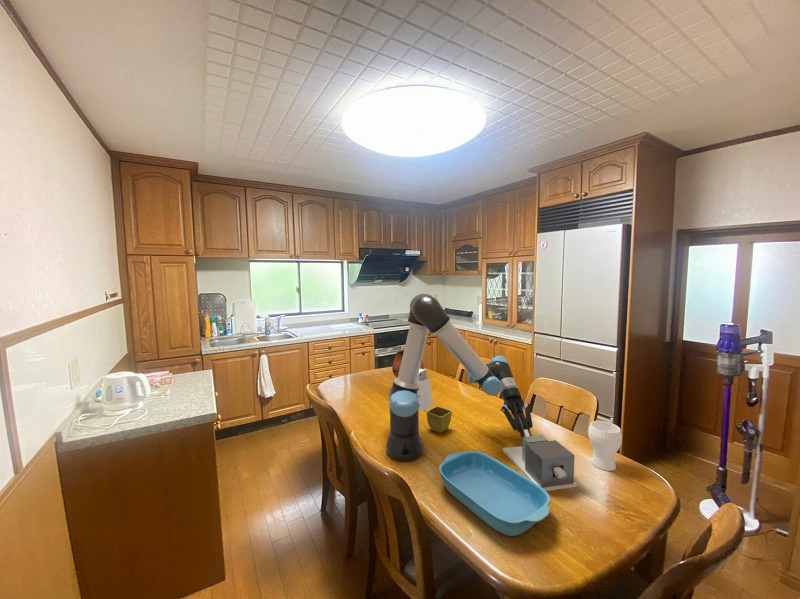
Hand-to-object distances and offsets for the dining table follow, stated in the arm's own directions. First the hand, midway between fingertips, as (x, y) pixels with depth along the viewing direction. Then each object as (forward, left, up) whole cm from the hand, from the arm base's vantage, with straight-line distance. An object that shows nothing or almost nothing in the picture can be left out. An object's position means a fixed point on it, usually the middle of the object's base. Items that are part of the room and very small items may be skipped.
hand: (530, 447), depth 125 cm
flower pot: (-2, +41, -5) cm, 41 cm away
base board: (-3, -3, -5) cm, 7 cm away
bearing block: (-7, -9, -4) cm, 12 cm away
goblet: (+26, +82, -5) cm, 86 cm away
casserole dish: (-30, +2, -6) cm, 31 cm away
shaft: (-7, -8, -4) cm, 11 cm away
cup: (+14, -22, -5) cm, 27 cm away
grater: (+14, +64, -5) cm, 66 cm away
